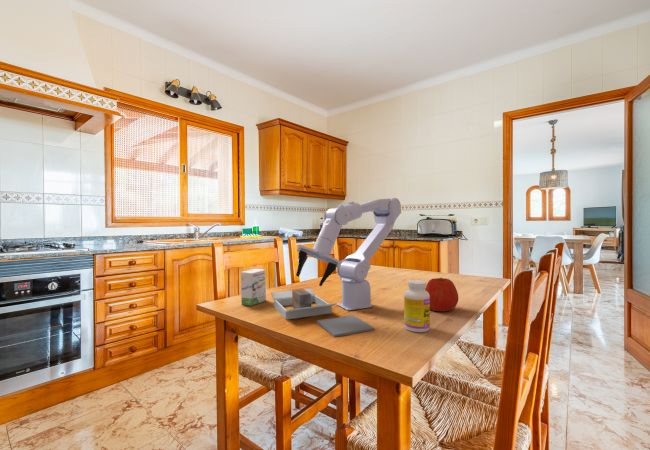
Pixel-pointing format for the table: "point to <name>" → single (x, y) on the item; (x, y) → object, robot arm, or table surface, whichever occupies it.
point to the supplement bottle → (417, 307)
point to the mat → (344, 325)
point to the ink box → (253, 286)
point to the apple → (442, 294)
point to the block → (301, 298)
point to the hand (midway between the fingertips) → (308, 280)
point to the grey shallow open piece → (286, 299)
